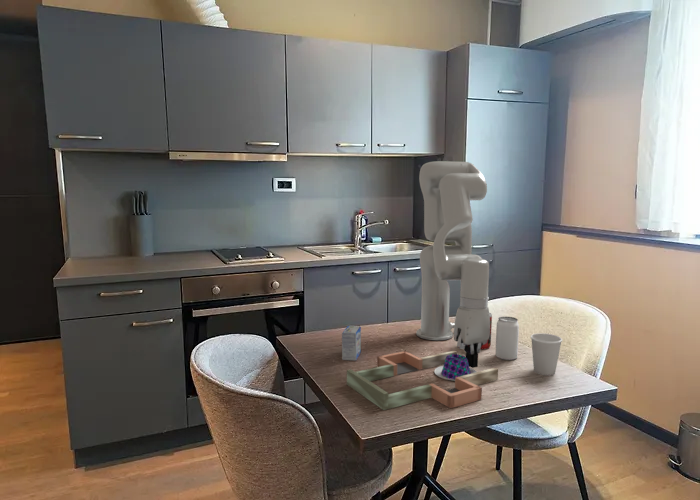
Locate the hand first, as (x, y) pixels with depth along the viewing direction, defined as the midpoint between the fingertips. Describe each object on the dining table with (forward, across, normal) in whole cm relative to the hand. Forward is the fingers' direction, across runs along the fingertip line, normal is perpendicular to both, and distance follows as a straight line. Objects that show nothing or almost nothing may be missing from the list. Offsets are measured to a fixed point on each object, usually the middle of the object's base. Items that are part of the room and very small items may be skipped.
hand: (471, 365), depth 142 cm
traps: (+1, +17, 0) cm, 17 cm away
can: (+2, -17, -3) cm, 18 cm away
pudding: (+2, +6, 0) cm, 6 cm away
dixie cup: (+2, -17, +11) cm, 21 cm away
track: (+1, +17, 0) cm, 17 cm away
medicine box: (+2, +23, -27) cm, 36 cm away
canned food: (+2, -18, -15) cm, 23 cm away
